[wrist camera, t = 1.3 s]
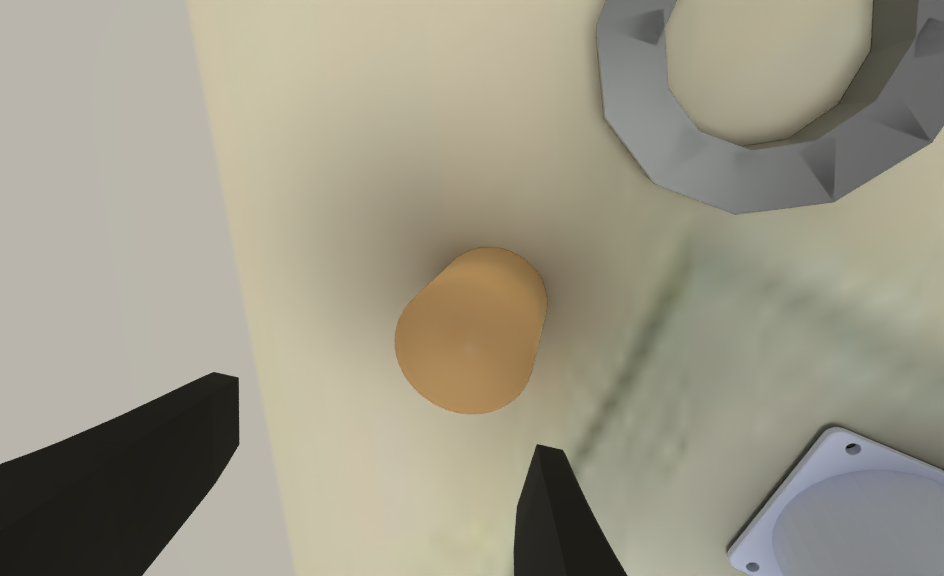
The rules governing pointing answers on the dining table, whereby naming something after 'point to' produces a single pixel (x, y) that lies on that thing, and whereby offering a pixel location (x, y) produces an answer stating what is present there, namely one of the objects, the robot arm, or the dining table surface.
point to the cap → (473, 332)
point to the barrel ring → (784, 161)
